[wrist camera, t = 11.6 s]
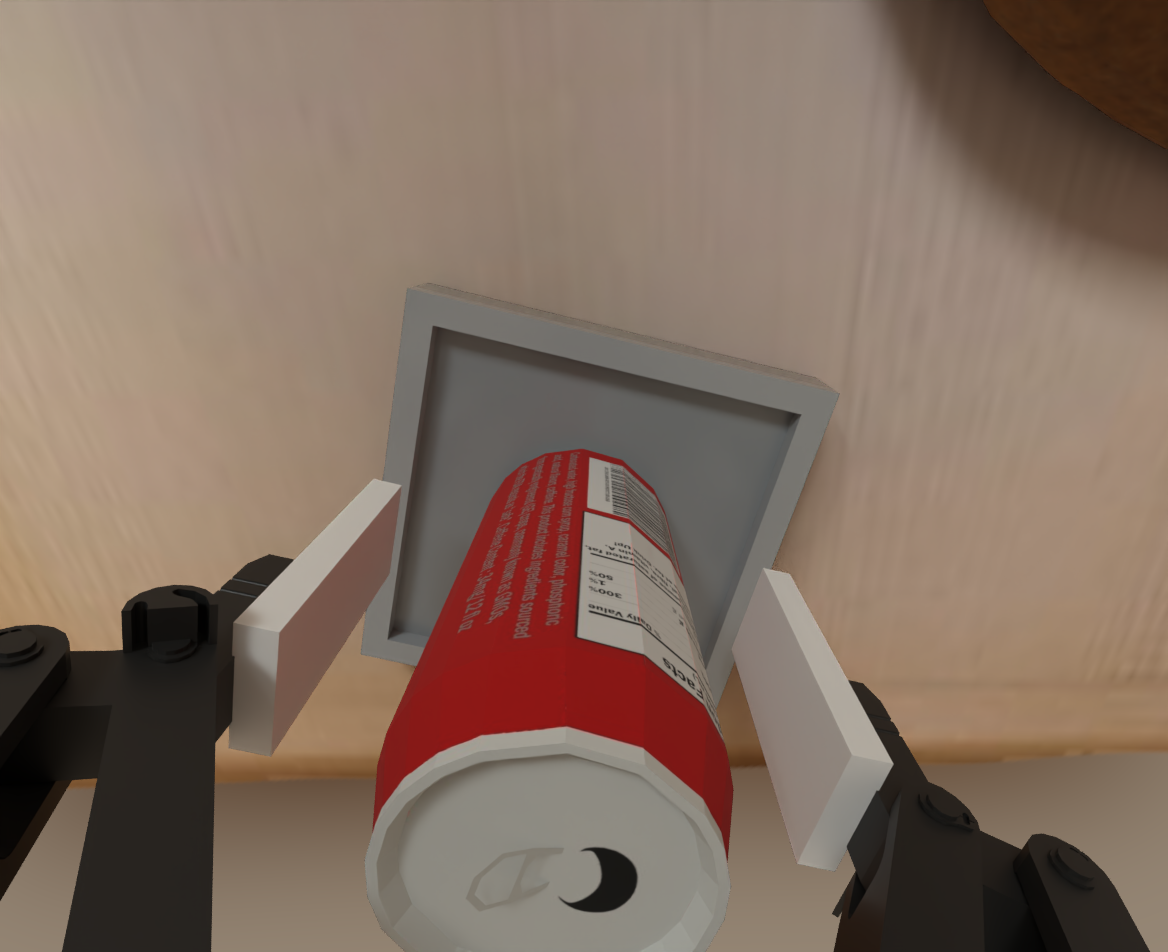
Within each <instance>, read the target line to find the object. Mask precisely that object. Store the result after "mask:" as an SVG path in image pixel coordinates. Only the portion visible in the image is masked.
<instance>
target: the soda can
mask: <svg viewBox="0 0 1168 952" xmlns="http://www.w3.org/2000/svg"><path fill="white" fill-rule="evenodd" d="M732 801H733V785H732V778H731V772H730V766H729V760H728V755H727V751H726V747H725V743H724V739H723V735H722V732H721V728H720V724H719V720H718V716H717V712H716V708H715V704H714V701H713V697H712V693H711V689H710V685H709V681H708V677H707V673H706V670H705V666H704V662H703V658H702V654H701V650H700V646H699V642H698V638H697V635H696V631H695V627H694V623H693V619H692V615H691V611H690V607H689V604H688V600H687V596H686V592H685V588H684V584H683V580H682V576H681V573H680V569H679V565H678V561H677V557H676V553H675V549H674V545H673V542H672V538H671V534H670V530H669V526H668V522H667V518H666V514H665V511H664V509H663V507H662V505H661V503H660V501H659V499H658V497H657V495H656V493H655V491H654V489H653V488H652V487H651V486H650V485H649V484H648V483H647V482H646V481H645V480H644V479H642V478H641V477H640V476H639V475H638V474H637V473H636V472H635V471H634V470H633V469H632V468H631V467H630V466H628V465H627V464H626V463H625V462H624V461H623V460H621V459H618V458H614V457H611V456H607V455H604V454H600V453H597V452H593V451H590V450H586V449H575V450H568V451H560V452H552V453H545V454H543V455H541V456H539V457H537V458H534V459H532V460H530V461H528V462H526V463H524V464H522V465H520V466H519V467H518V468H517V469H516V470H514V471H513V472H512V473H511V474H510V475H508V476H507V477H506V478H505V479H504V481H503V482H502V484H501V485H500V487H499V488H498V490H497V491H496V493H495V494H494V496H493V497H492V499H491V501H490V503H489V505H488V508H487V510H486V512H485V514H484V517H483V519H482V521H481V523H480V526H479V528H478V530H477V532H476V534H475V537H474V539H473V541H472V543H471V546H470V548H469V550H468V552H467V555H466V557H465V559H464V561H463V563H462V566H461V568H460V570H459V572H458V575H457V577H456V579H455V581H454V584H453V586H452V588H451V590H450V593H449V595H448V597H447V599H446V601H445V604H444V606H443V608H442V610H441V613H440V615H439V617H438V619H437V622H436V624H435V626H434V628H433V631H432V633H431V635H430V637H429V639H428V642H427V644H426V646H425V648H424V651H423V653H422V655H421V657H420V660H419V662H418V664H417V666H416V668H415V671H414V673H413V675H412V677H411V680H410V682H409V684H408V686H407V689H406V691H405V693H404V695H403V698H402V700H401V702H400V704H399V706H398V709H397V711H396V713H395V715H394V718H393V720H392V722H391V724H390V727H389V729H388V731H387V733H386V737H385V740H384V744H383V747H382V751H381V754H380V758H379V761H378V765H377V778H376V792H375V805H374V819H373V832H372V837H371V841H370V844H369V847H368V850H367V854H366V857H365V872H366V885H367V897H368V899H369V902H370V904H371V906H372V908H373V911H374V913H375V915H376V917H377V920H378V922H379V924H380V927H381V929H382V930H383V931H384V932H385V933H386V934H387V935H388V936H389V937H390V938H391V939H392V940H393V941H394V942H395V943H397V944H398V945H399V946H400V947H401V948H402V949H403V950H404V951H405V952H705V951H706V950H707V948H708V947H709V945H710V943H711V942H712V940H713V938H714V937H715V935H716V933H717V932H718V930H719V928H720V926H721V925H722V923H723V921H724V919H725V914H726V909H727V904H728V899H729V894H730V889H731V883H730V877H729V871H728V865H727V860H728V849H729V837H730V825H731V813H732Z"/></svg>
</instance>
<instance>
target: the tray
mask: <svg viewBox="0 0 1168 952" xmlns="http://www.w3.org/2000/svg"><path fill="white" fill-rule="evenodd" d="M838 397H839V393H838V392H836V391H835V390H833V389H832V388H830V387H829V386H827V385H826V384H824V383H823V382H821V381H820V380H818V379H817V378H814V377H810V376H806V375H802V374H798V373H794V372H790V371H786V370H781V369H777V368H773V367H769V366H765V365H761V364H757V363H753V362H749V361H745V360H741V359H737V358H733V357H728V356H724V355H720V354H716V353H712V352H708V351H704V350H700V349H696V348H692V347H688V346H684V345H680V344H675V343H671V342H667V341H663V340H659V339H655V338H651V337H647V336H643V335H639V334H635V333H631V332H627V331H622V330H618V329H614V328H610V327H606V326H602V325H598V324H594V323H590V322H586V321H582V320H578V319H574V318H569V317H565V316H561V315H557V314H553V313H549V312H545V311H541V310H537V309H533V308H529V307H525V306H521V305H516V304H512V303H508V302H504V301H500V300H496V299H492V298H488V297H484V296H480V295H476V294H472V293H468V292H463V291H459V290H455V289H451V288H447V287H443V286H439V285H435V284H431V283H426V284H422V285H418V286H414V287H410V288H407V294H406V302H405V310H404V318H403V326H402V333H401V341H400V349H399V357H398V365H397V373H396V381H395V388H394V396H393V404H392V412H391V420H390V428H389V436H388V443H387V451H386V459H385V467H384V475H383V481H385V482H390V483H394V484H398V485H402V489H401V496H400V503H399V510H398V517H397V524H396V532H395V539H394V546H393V553H392V560H391V567H390V574H389V575H388V577H387V579H386V580H385V582H384V583H383V585H382V586H381V588H380V589H379V591H378V592H377V594H376V595H375V597H374V599H373V600H372V602H371V603H370V605H369V606H368V608H367V609H366V616H365V624H364V632H363V640H362V648H361V655H366V656H371V657H375V658H380V659H385V660H389V661H394V662H399V663H404V664H408V665H413V666H417V664H418V662H419V660H420V657H421V655H422V653H423V651H424V648H425V646H426V644H427V642H428V639H429V637H430V635H431V633H432V631H433V628H434V626H435V624H436V622H437V619H438V617H439V615H440V613H441V610H442V608H443V606H444V604H445V601H446V599H447V597H448V595H449V593H450V590H451V588H452V586H453V584H454V581H455V579H456V577H457V575H458V572H459V570H460V568H461V566H462V563H463V561H464V559H465V557H466V555H467V552H468V550H469V548H470V546H471V543H472V541H473V539H474V537H475V534H476V532H477V530H478V528H479V526H480V523H481V521H482V519H483V517H484V514H485V512H486V510H487V508H488V505H489V503H490V501H491V499H492V497H493V496H494V494H495V493H496V491H497V490H498V488H499V487H500V485H501V484H502V482H503V481H504V479H505V478H506V477H507V476H508V475H510V474H511V473H512V472H513V471H514V470H516V469H517V468H518V467H519V466H520V465H522V464H524V463H526V462H528V461H530V460H532V459H534V458H537V457H539V456H541V455H543V454H545V453H552V452H560V451H568V450H575V449H586V450H590V451H593V452H597V453H600V454H604V455H607V456H611V457H614V458H618V459H621V460H623V461H624V462H625V463H626V464H627V465H628V466H630V467H631V468H632V469H633V470H634V471H635V472H636V473H637V474H638V475H639V476H640V477H641V478H642V479H644V480H645V481H646V482H647V483H648V484H649V485H650V486H651V487H652V488H653V489H654V491H655V493H656V495H657V497H658V499H659V501H660V503H661V505H662V507H663V509H664V511H665V514H666V518H667V522H668V526H669V530H670V534H671V538H672V542H673V545H674V549H675V553H676V557H677V561H678V565H679V569H680V573H681V576H682V580H683V584H684V588H685V592H686V596H687V600H688V604H689V607H690V611H691V615H692V619H693V623H694V627H695V631H696V635H697V638H698V642H699V646H700V650H701V654H702V658H703V662H704V666H705V670H706V673H707V677H708V681H709V685H710V689H711V693H712V697H713V701H714V704H715V708H717V706H718V703H719V701H720V698H721V696H722V693H723V690H724V688H725V685H726V683H727V680H728V678H729V675H730V673H731V670H732V667H733V665H734V662H735V659H734V656H733V653H732V646H733V644H734V641H735V639H736V636H737V634H738V631H739V628H740V626H741V623H742V621H743V618H744V615H745V613H746V610H747V608H748V605H749V602H750V600H751V597H752V595H753V592H754V590H755V587H756V584H757V582H758V579H759V577H760V574H761V571H762V569H763V568H766V569H771V568H772V565H773V563H774V560H775V558H776V555H777V553H778V550H779V548H780V545H781V542H782V540H783V537H784V535H785V532H786V530H787V527H788V525H789V522H790V519H791V517H792V514H793V512H794V509H795V507H796V504H797V502H798V499H799V497H800V494H801V491H802V489H803V486H804V484H805V481H806V479H807V476H808V474H809V471H810V468H811V466H812V463H813V461H814V458H815V456H816V453H817V451H818V448H819V445H820V443H821V440H822V438H823V435H824V433H825V430H826V428H827V425H828V422H829V420H830V417H831V415H832V412H833V410H834V407H835V405H836V402H837V400H838Z"/></svg>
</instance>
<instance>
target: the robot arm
mask: <svg viewBox="0 0 1168 952" xmlns="http://www.w3.org/2000/svg"><path fill="white" fill-rule="evenodd" d="M401 489H402V485H398V484H394V483H390V482H385V481H381V480H377V479H373V480H372V481H371V482H370V483H369V484H368V485H367V486H366V487H365V488H364V489H363V490H362V491H361V492H360V493H359V494H358V495H357V496H356V497H355V498H354V499H353V500H352V501H351V502H350V503H349V504H348V505H347V506H346V507H345V508H344V510H343V511H342V512H341V513H340V514H339V515H338V516H337V517H336V518H335V519H334V520H333V521H332V522H331V523H330V524H329V525H328V526H327V527H326V528H325V529H324V530H323V531H322V532H321V533H320V534H319V535H318V536H317V537H316V538H315V539H314V540H313V541H312V542H311V543H310V544H309V545H308V546H307V547H306V549H305V550H304V551H303V552H302V553H301V554H300V555H299V556H298V557H297V558H296V559H295V560H293V559H289V558H284V557H280V556H275V555H270V554H269V555H267V556H265V557H262V558H260V559H257V560H255V561H253V562H250V563H248V564H247V565H246V566H244V567H243V568H242V569H241V570H240V571H239V572H238V573H237V574H236V575H234V576H233V579H232V580H229V581H228V582H227V583H226V584H225V585H223V586H222V587H221V590H220V591H217V592H216V593H215V594H212V593H210V592H209V591H207V590H206V589H202V588H198V587H195V586H187V585H171V586H164V587H157V588H154V589H151V590H148V591H145V592H142V593H140V594H138V595H137V596H135V597H134V598H132V599H131V600H129V601H128V602H127V603H126V605H125V606H124V608H123V609H122V611H121V613H122V639H123V650H115V651H70V645H69V640H68V638H67V636H66V634H65V633H64V632H62V631H60V630H58V629H56V628H55V627H49V626H42V625H24V626H14V627H10V628H5V629H1V630H0V900H1V899H2V897H3V896H4V894H5V892H6V890H7V889H8V887H9V885H10V884H11V882H12V880H13V879H14V877H15V875H16V874H17V872H18V870H19V869H20V867H21V865H22V863H23V862H24V860H25V858H26V857H27V855H28V853H29V852H30V850H31V848H32V847H33V845H34V843H35V841H36V840H37V838H38V836H39V835H40V833H41V831H42V830H43V828H44V826H45V825H46V823H47V821H48V820H49V818H50V816H51V815H52V812H53V811H54V809H55V808H56V806H57V804H58V803H59V801H60V799H61V798H62V796H63V794H64V793H65V791H66V789H67V788H68V786H69V784H70V782H71V781H72V780H79V779H93V778H97V783H96V788H95V793H94V798H93V803H92V808H91V813H90V818H89V822H88V827H87V832H86V837H85V842H84V847H83V852H82V856H81V862H80V866H79V871H78V876H77V881H76V886H75V891H74V895H73V900H72V905H71V910H70V915H69V920H68V925H67V930H66V935H65V939H64V944H63V950H62V952H211V930H212V929H211V928H212V926H211V925H212V880H213V879H212V877H213V829H214V782H215V743H216V741H217V740H218V739H219V737H220V736H221V735H222V734H223V732H224V731H225V730H226V728H227V727H228V726H229V748H231V749H236V750H241V751H246V752H251V753H256V754H260V755H265V756H270V757H271V756H272V754H273V752H274V751H275V749H276V748H277V746H278V745H279V743H280V742H281V740H282V739H283V737H284V736H285V734H286V732H287V731H288V729H289V728H290V726H291V725H292V723H293V722H294V720H295V719H296V717H297V716H298V714H299V712H300V711H301V709H302V708H303V706H304V705H305V703H306V702H307V700H308V699H309V697H310V695H311V694H312V692H313V691H314V689H315V688H316V686H317V685H318V683H319V682H320V680H321V679H322V677H323V675H324V674H325V672H326V671H327V669H328V668H329V666H330V665H331V663H332V662H333V660H334V659H335V657H336V655H337V654H338V652H339V651H340V649H341V648H342V646H343V645H344V643H345V642H346V640H347V639H348V637H349V635H350V634H351V632H352V631H353V629H354V628H355V626H356V625H357V623H358V622H359V620H360V619H361V617H362V615H363V614H364V612H365V611H366V609H367V608H368V606H369V605H370V603H371V602H372V600H373V599H374V597H375V595H376V594H377V592H378V591H379V589H380V588H381V586H382V585H383V583H384V582H385V580H386V579H387V577H388V575H389V574H390V567H391V560H392V553H393V546H394V539H395V532H396V524H397V517H398V510H399V503H400V496H401ZM732 653H733V656H734V659H735V663H736V666H737V669H738V672H739V676H740V679H741V682H742V686H743V689H744V692H745V695H746V699H747V702H748V705H749V709H750V712H751V715H752V718H753V722H754V725H755V728H756V732H757V735H758V738H759V742H760V745H761V748H762V751H763V755H764V758H765V761H766V765H767V768H768V771H769V774H770V778H771V781H772V784H773V787H774V791H775V794H776V797H777V801H778V804H779V807H780V811H781V814H782V817H783V821H784V824H785V827H786V830H787V833H788V837H789V840H790V844H791V847H792V850H793V853H794V857H795V860H796V863H797V864H800V865H805V866H809V867H815V868H820V869H825V870H829V871H834V872H835V871H836V869H837V867H838V865H839V864H840V862H841V860H842V858H843V856H844V854H845V852H846V851H847V849H848V851H849V854H850V856H851V859H852V861H853V864H854V867H855V869H856V871H855V873H854V875H853V877H852V879H851V881H850V882H849V884H848V886H847V888H846V889H845V891H844V893H843V895H842V897H841V899H840V900H839V902H838V904H837V905H836V907H835V909H834V911H833V913H832V914H833V915H835V916H836V917H839V915H840V914H841V912H842V914H841V919H840V923H839V928H838V933H837V938H836V943H835V948H834V952H1150V951H1149V949H1148V947H1147V945H1146V944H1145V942H1144V940H1143V938H1142V936H1141V935H1140V932H1139V931H1138V929H1137V927H1136V925H1135V923H1134V921H1133V920H1132V918H1131V916H1130V914H1129V912H1128V910H1127V909H1126V907H1125V905H1124V903H1123V901H1122V899H1121V898H1120V896H1119V894H1118V892H1117V890H1116V888H1115V887H1114V885H1113V884H1112V882H1111V881H1110V879H1109V878H1108V877H1107V875H1106V874H1105V873H1104V871H1103V870H1102V869H1100V868H1099V867H1098V866H1097V865H1096V864H1095V863H1094V862H1093V861H1092V860H1091V859H1090V858H1089V857H1088V856H1087V855H1085V854H1084V853H1083V852H1081V851H1079V849H1077V848H1076V847H1074V846H1072V845H1070V844H1068V843H1066V842H1064V841H1062V840H1060V839H1058V838H1056V837H1053V836H1049V835H1046V834H1035V835H1032V836H1031V837H1030V839H1029V840H1028V841H1027V843H1026V844H1025V846H1024V847H1023V849H1022V850H1021V849H1019V848H1017V847H1014V846H1013V845H1010V844H1008V843H1006V842H1004V841H1002V840H999V839H997V838H995V837H993V836H991V835H988V834H986V833H984V832H982V831H980V829H979V825H978V822H977V820H976V819H975V817H974V816H973V815H972V813H971V812H970V810H969V809H968V808H967V807H966V806H965V805H964V804H963V803H962V802H961V801H959V800H958V799H957V798H956V797H955V796H953V795H952V794H950V793H949V792H947V791H946V790H944V789H943V788H941V787H939V786H937V785H934V784H932V783H930V782H928V781H927V779H926V777H925V776H924V774H923V772H922V770H921V769H920V767H919V765H918V764H917V762H916V760H915V758H914V757H913V755H912V753H911V752H910V750H909V748H908V747H907V745H906V743H905V742H904V740H903V738H902V737H901V736H899V731H898V730H897V728H896V726H895V725H894V723H893V722H891V721H890V720H891V718H890V716H889V715H888V713H887V711H886V710H885V708H884V706H883V704H882V703H881V701H880V700H879V699H878V698H877V697H876V696H875V695H874V694H873V693H872V692H871V691H870V690H869V689H868V688H867V687H866V686H865V685H864V684H863V683H859V682H854V681H850V680H847V678H846V676H845V674H844V672H843V670H842V669H841V667H840V665H839V663H838V661H837V660H836V658H835V656H834V654H833V652H832V650H831V649H830V647H829V645H828V643H827V641H826V639H825V638H824V636H823V634H822V632H821V630H820V628H819V627H818V625H817V623H816V621H815V619H814V617H813V616H812V614H811V612H810V610H809V608H808V606H807V605H806V603H805V601H804V599H803V597H802V595H801V594H800V592H799V590H798V588H797V586H796V584H795V583H794V581H793V579H792V577H791V575H790V574H788V573H784V572H780V571H775V570H771V569H766V568H763V569H762V571H761V574H760V577H759V579H758V582H757V584H756V587H755V590H754V592H753V595H752V597H751V600H750V602H749V605H748V608H747V610H746V613H745V615H744V618H743V621H742V623H741V626H740V628H739V631H738V634H737V636H736V639H735V641H734V644H733V646H732Z"/></svg>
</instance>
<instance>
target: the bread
mask: <svg viewBox="0 0 1168 952" xmlns="http://www.w3.org/2000/svg"><path fill="white" fill-rule="evenodd" d="M983 2H984V4H985V6H986V8H987V10H988V12H989V14H990V15H991V17H992V18H993V19H994V20H995V21H996V22H997V23H998V24H999V25H1000V26H1001V27H1002V28H1003V29H1004V30H1005V31H1006V32H1007V33H1008V34H1009V35H1010V36H1011V37H1012V38H1013V39H1014V40H1015V41H1016V42H1017V43H1018V44H1019V45H1020V46H1021V47H1022V48H1023V49H1024V50H1025V51H1026V52H1027V53H1028V54H1029V55H1030V56H1032V57H1033V58H1034V59H1035V60H1036V61H1037V62H1038V63H1039V64H1040V65H1041V66H1042V67H1043V68H1044V69H1045V70H1046V71H1047V72H1048V73H1049V74H1050V75H1051V76H1053V77H1054V78H1055V79H1056V80H1057V81H1059V82H1060V83H1061V84H1062V85H1064V86H1066V87H1067V88H1069V89H1071V90H1072V91H1074V92H1075V93H1077V94H1078V95H1080V96H1081V97H1082V98H1084V99H1085V100H1087V101H1088V102H1089V103H1091V104H1092V105H1094V106H1095V107H1096V108H1098V109H1099V110H1100V111H1102V112H1103V113H1105V114H1106V115H1107V116H1109V117H1110V118H1111V119H1113V120H1114V121H1116V122H1118V123H1120V124H1122V125H1123V126H1125V127H1127V128H1129V129H1131V130H1132V131H1134V132H1136V133H1138V134H1140V135H1142V136H1143V137H1145V138H1147V139H1149V140H1151V141H1152V142H1154V143H1156V144H1158V145H1160V146H1161V147H1163V148H1165V149H1167V150H1168V0H983Z"/></svg>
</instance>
